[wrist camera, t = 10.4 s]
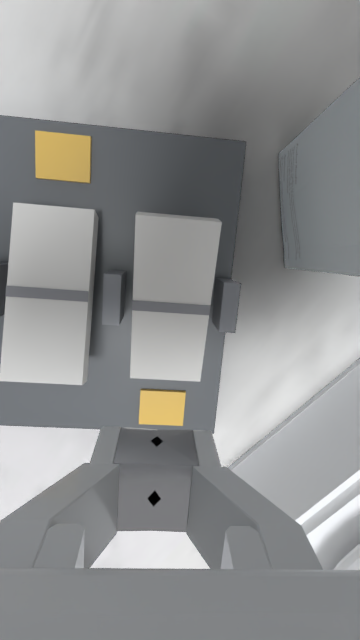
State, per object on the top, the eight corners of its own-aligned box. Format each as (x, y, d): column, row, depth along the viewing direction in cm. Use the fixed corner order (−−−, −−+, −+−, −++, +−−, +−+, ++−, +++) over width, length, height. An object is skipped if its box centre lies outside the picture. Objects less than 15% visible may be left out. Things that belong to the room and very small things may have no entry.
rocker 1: (23, 211, 20) (12, 202, 19) (98, 217, 20) (94, 209, 19) (10, 377, 20) (-2, 381, 18) (87, 381, 20) (81, 385, 19)
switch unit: (-106, 114, 21) (-184, 76, 16) (238, 150, 22) (259, 125, 18) (-79, 407, 25) (-134, 444, 20) (209, 419, 27) (220, 456, 22)
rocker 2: (137, 211, 18) (135, 214, 17) (218, 218, 19) (222, 222, 17) (131, 366, 22) (129, 378, 21) (198, 369, 23) (200, 382, 21)
